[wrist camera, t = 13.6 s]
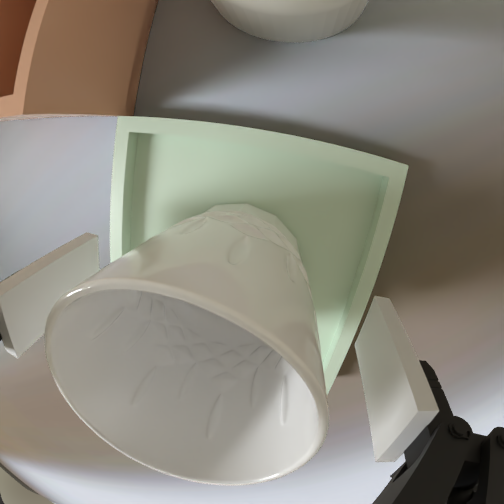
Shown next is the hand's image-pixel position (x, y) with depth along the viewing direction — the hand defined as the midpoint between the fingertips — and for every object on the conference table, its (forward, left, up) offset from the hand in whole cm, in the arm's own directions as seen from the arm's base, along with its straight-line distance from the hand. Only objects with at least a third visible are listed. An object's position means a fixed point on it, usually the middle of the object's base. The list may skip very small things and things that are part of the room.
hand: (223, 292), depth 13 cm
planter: (-12, +12, -4) cm, 17 cm away
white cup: (0, 0, -3) cm, 3 cm away
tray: (0, 0, -4) cm, 4 cm away
